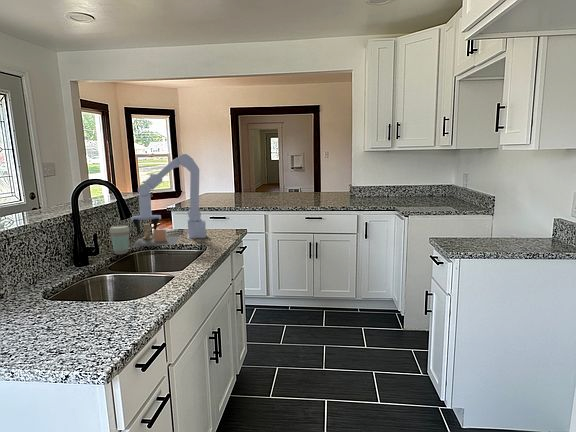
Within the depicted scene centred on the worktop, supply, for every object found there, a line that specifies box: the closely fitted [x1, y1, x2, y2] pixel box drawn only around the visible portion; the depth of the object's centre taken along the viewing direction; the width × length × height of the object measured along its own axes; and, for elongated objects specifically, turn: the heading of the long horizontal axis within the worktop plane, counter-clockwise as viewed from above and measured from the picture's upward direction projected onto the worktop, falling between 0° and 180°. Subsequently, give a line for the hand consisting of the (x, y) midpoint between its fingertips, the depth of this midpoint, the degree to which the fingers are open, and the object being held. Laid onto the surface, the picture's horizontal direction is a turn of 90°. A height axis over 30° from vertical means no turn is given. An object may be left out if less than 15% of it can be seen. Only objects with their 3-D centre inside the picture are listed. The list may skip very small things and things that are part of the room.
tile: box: [153, 228, 168, 242], centre depth 194 cm, size 6×2×6 cm, turn 102°
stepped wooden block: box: [142, 223, 153, 240], centre depth 198 cm, size 4×4×8 cm
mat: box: [131, 236, 179, 248], centre depth 194 cm, size 20×18×1 cm
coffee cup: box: [109, 225, 130, 255], centre depth 173 cm, size 8×8×12 cm
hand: (147, 233), depth 199 cm, fingers open, 7 cm apart
